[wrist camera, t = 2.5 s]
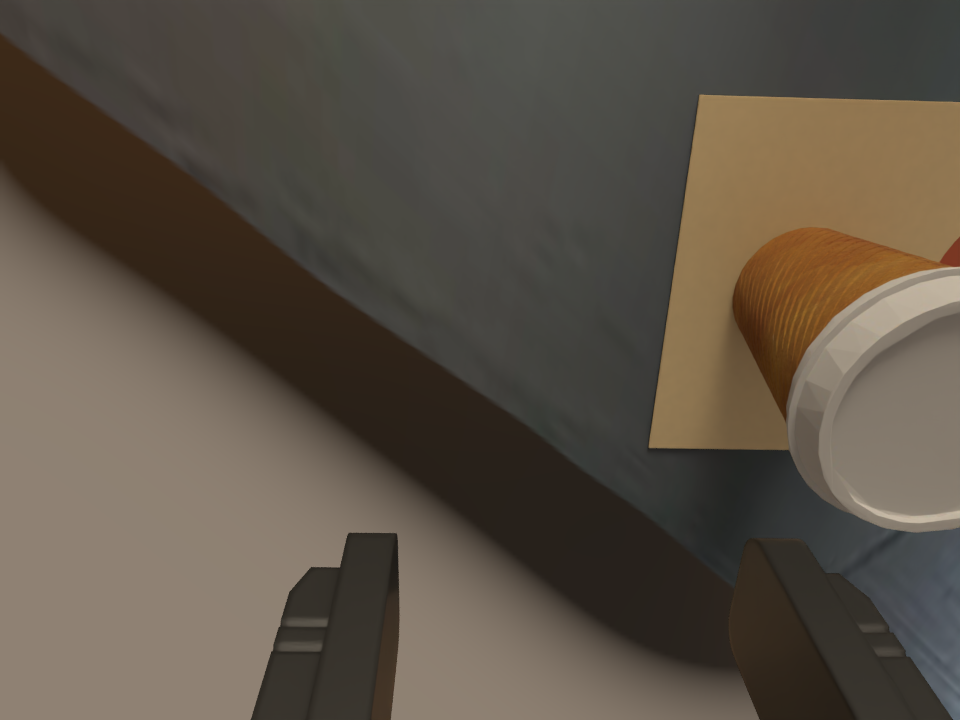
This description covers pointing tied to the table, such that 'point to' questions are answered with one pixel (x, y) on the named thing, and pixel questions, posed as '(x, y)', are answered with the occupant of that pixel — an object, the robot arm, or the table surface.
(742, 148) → the placemat
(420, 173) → the table surface
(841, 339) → the disposable coffee cup
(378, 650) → the robot arm
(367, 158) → the table surface
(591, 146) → the table surface
